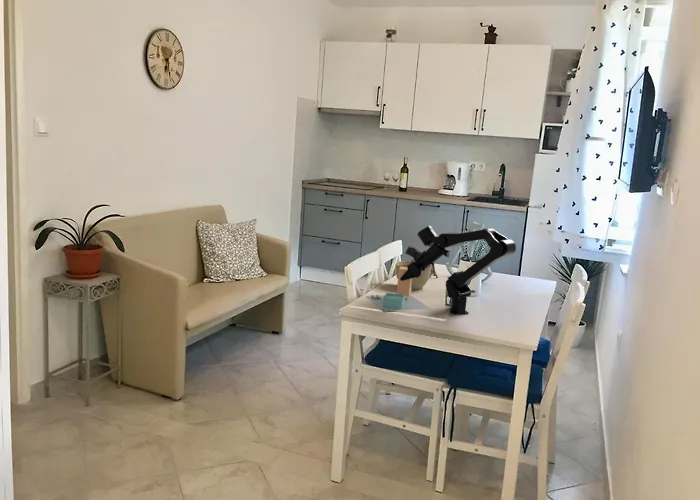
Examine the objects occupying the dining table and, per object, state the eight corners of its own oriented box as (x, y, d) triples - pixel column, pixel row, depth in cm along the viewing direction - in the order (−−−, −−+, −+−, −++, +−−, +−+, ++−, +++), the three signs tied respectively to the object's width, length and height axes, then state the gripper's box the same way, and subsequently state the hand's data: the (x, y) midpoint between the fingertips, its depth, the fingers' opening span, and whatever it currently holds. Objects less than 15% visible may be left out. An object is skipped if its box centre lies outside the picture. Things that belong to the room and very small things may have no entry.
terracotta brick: (410, 294, 254) (413, 268, 252) (408, 296, 249) (411, 270, 247) (398, 292, 255) (401, 266, 253) (396, 295, 250) (398, 268, 248)
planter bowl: (427, 285, 281) (430, 262, 279) (431, 294, 265) (434, 270, 263) (392, 282, 281) (394, 259, 279) (394, 291, 265) (396, 267, 263)
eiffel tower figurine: (428, 273, 307) (430, 247, 305) (446, 277, 302) (449, 250, 299) (414, 278, 295) (417, 251, 292) (433, 282, 289) (436, 254, 287)
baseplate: (431, 310, 240) (432, 299, 240) (384, 312, 233) (385, 300, 233) (409, 296, 259) (410, 286, 258) (364, 297, 252) (365, 287, 251)
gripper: (421, 236, 255) (393, 259, 260) (415, 243, 238) (384, 267, 242) (438, 257, 255) (410, 279, 260) (433, 265, 237) (402, 289, 242)
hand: (401, 278), depth 251 cm, fingers closed on terracotta brick, 5 cm apart
